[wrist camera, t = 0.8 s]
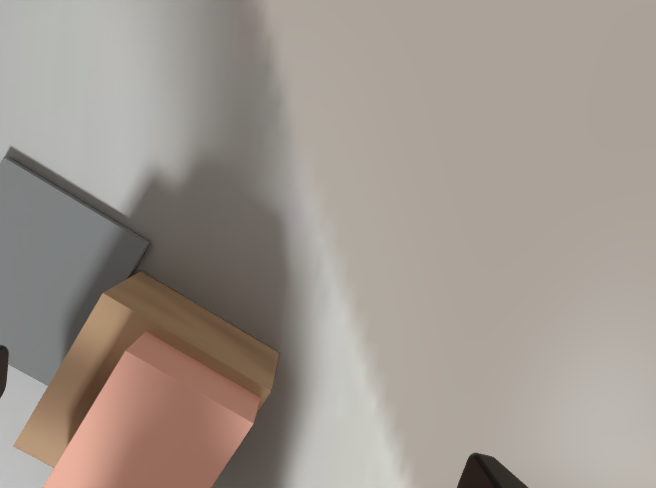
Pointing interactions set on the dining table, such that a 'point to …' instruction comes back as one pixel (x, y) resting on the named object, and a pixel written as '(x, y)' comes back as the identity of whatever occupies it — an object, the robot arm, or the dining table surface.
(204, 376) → the pink block
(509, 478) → the robot arm
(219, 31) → the dining table surface
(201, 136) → the dining table surface
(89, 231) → the mat
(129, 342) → the brown square block
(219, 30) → the dining table surface
